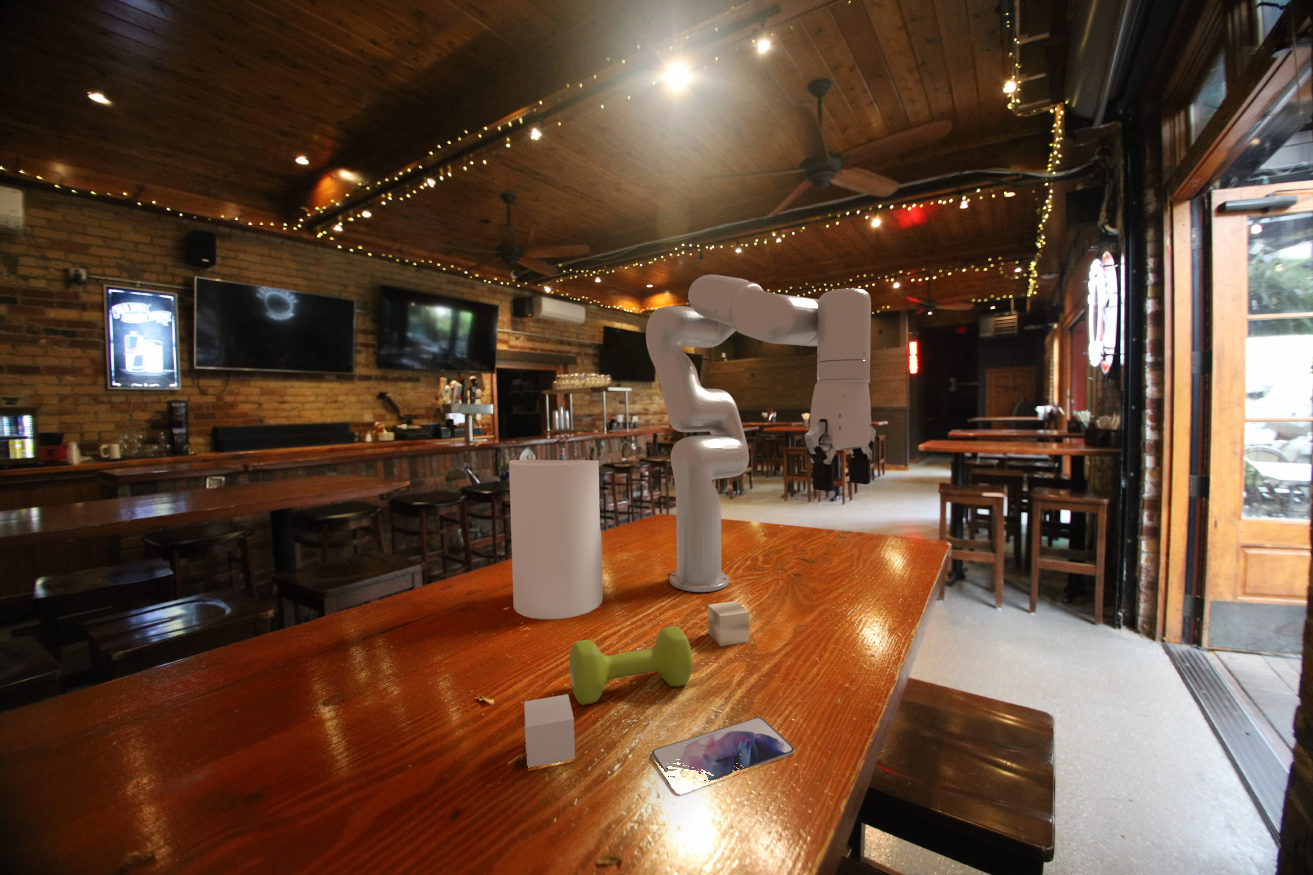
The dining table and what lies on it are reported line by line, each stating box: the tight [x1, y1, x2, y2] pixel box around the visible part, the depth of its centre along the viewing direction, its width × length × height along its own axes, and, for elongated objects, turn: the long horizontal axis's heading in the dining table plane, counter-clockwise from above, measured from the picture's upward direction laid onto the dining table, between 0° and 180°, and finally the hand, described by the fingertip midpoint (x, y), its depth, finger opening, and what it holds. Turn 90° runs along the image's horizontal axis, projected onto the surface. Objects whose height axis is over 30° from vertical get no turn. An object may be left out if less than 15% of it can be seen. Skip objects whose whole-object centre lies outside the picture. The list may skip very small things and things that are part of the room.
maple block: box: [707, 600, 750, 647], centre depth 87 cm, size 5×5×5 cm
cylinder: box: [508, 459, 604, 620], centre depth 103 cm, size 17×17×28 cm
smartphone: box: [650, 717, 796, 782], centre depth 58 cm, size 7×1×15 cm
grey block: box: [523, 693, 576, 768], centre depth 59 cm, size 5×5×5 cm
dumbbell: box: [569, 625, 694, 706], centre depth 72 cm, size 16×8×7 cm, turn 108°
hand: (841, 486), depth 80 cm, fingers open, 9 cm apart
